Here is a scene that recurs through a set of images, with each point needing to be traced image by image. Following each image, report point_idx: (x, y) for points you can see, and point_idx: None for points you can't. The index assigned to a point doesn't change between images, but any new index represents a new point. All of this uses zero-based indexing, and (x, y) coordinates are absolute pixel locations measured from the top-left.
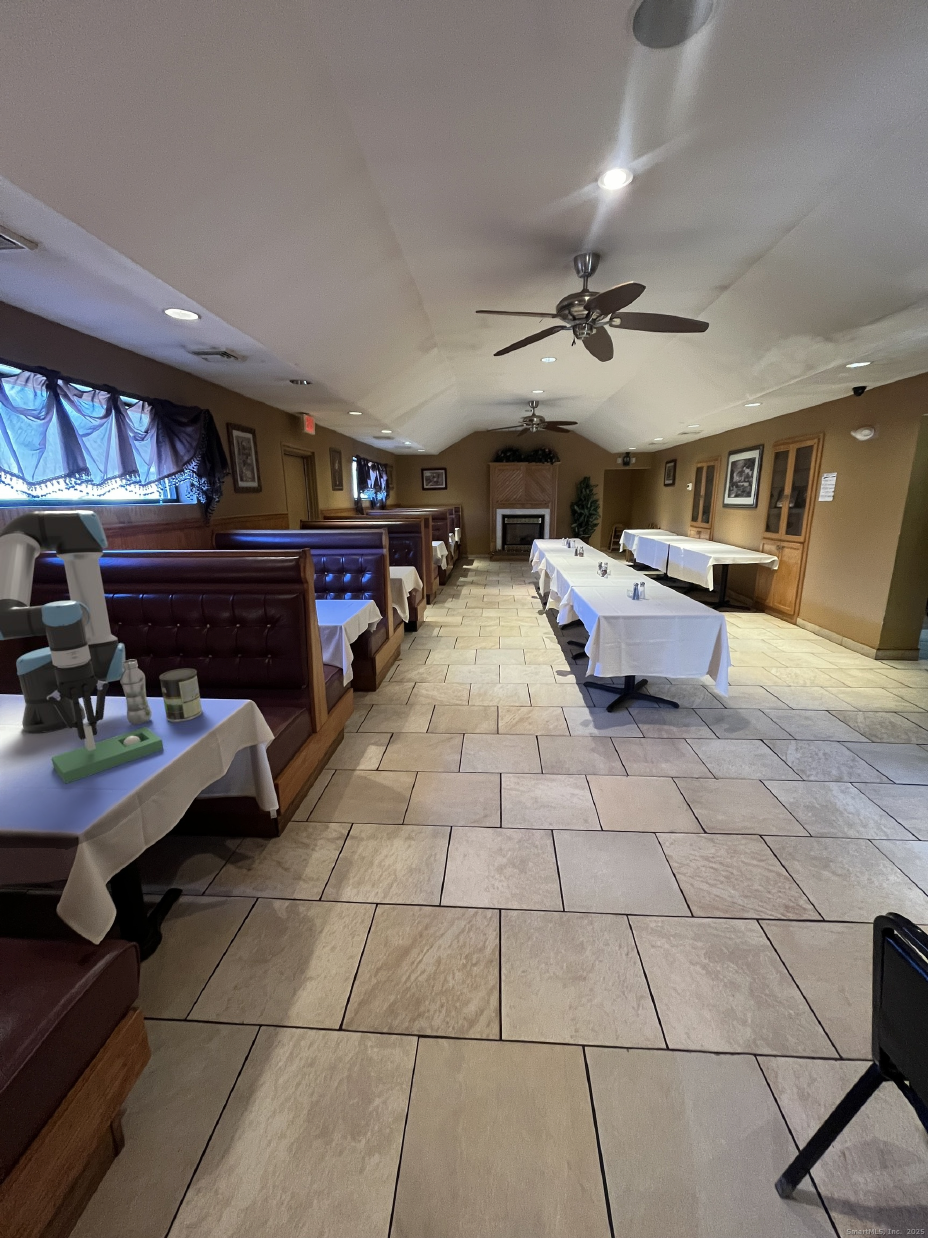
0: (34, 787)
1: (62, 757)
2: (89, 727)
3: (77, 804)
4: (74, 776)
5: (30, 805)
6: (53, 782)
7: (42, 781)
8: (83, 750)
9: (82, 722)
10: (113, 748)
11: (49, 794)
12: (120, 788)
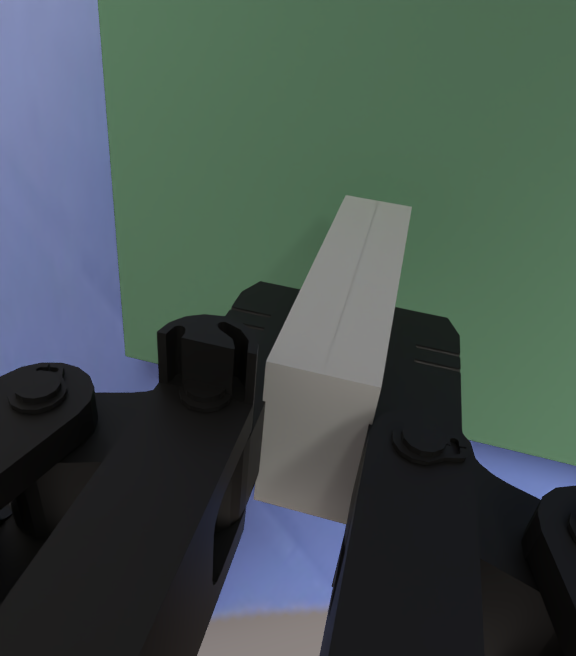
0: (23, 180)
1: (170, 61)
2: (326, 504)
3: None
4: None
5: (11, 358)
6: None
7: (64, 137)
8: (359, 80)
9: (215, 581)
10: (531, 319)
11: (84, 340)
12: (322, 562)
